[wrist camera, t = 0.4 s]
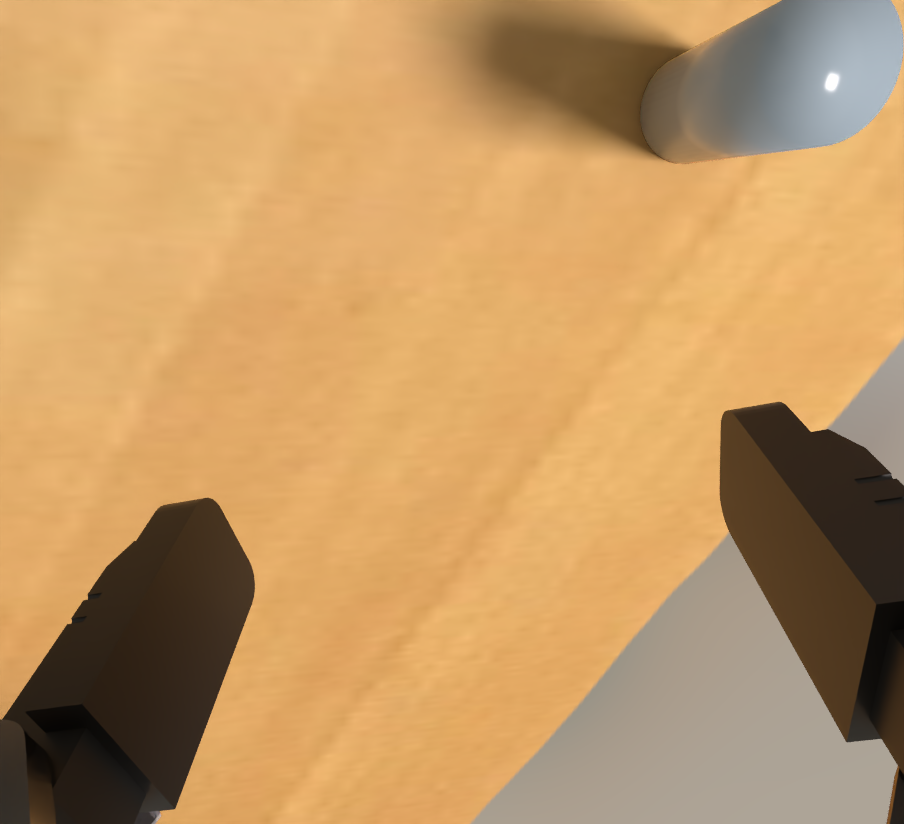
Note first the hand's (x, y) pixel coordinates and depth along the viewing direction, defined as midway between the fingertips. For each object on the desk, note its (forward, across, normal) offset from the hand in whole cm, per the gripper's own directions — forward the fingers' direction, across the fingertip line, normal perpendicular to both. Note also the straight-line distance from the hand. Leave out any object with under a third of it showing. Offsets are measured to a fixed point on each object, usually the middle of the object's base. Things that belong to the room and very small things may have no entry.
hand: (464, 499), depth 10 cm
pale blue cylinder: (+27, -12, -1) cm, 30 cm away
